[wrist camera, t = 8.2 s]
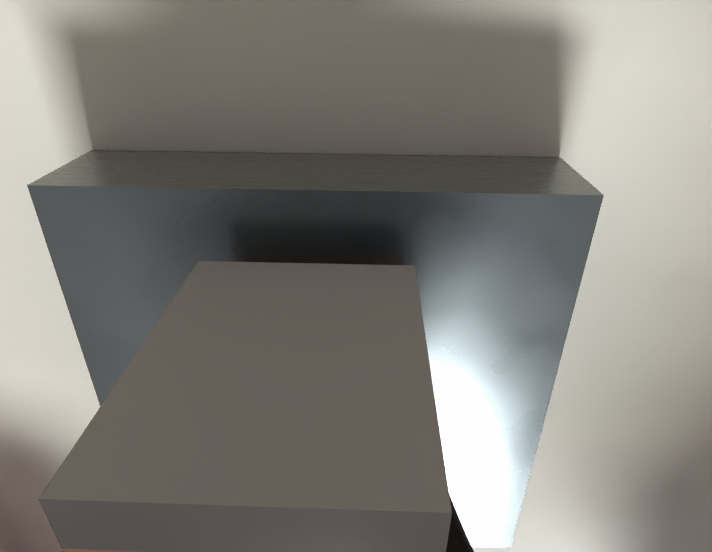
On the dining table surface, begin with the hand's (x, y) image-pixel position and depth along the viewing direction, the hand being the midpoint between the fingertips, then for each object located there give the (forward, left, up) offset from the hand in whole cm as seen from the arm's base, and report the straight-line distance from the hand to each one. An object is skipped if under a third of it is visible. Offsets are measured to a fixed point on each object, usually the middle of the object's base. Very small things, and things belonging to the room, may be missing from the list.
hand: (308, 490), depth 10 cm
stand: (0, 0, -5) cm, 5 cm away
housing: (0, 0, -1) cm, 1 cm away
